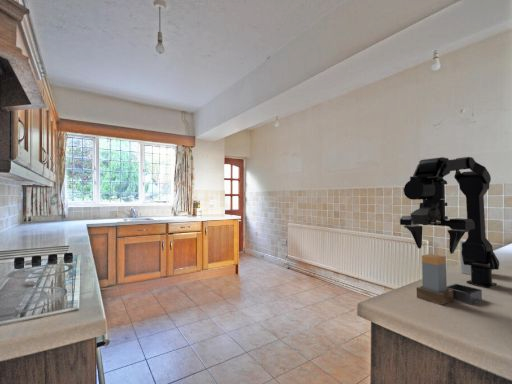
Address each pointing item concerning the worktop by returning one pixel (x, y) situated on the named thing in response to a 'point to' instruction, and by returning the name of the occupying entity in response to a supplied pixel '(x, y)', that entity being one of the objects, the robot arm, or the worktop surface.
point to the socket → (465, 293)
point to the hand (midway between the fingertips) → (434, 250)
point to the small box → (464, 268)
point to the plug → (434, 273)
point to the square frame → (435, 296)
